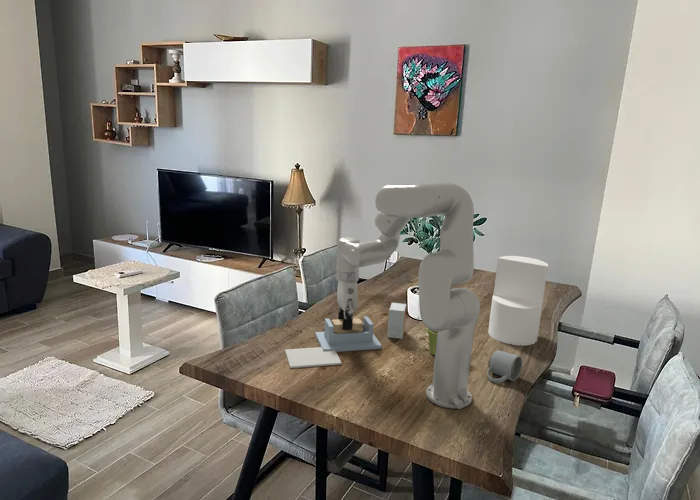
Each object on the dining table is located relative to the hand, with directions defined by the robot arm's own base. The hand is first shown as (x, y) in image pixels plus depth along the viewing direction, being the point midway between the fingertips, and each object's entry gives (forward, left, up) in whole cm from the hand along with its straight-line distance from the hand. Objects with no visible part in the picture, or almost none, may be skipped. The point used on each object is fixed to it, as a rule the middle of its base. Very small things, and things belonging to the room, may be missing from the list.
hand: (345, 325), depth 174 cm
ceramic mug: (-32, -42, -6) cm, 53 cm away
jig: (0, -1, -6) cm, 6 cm away
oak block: (0, -1, -2) cm, 2 cm away
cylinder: (-3, -63, -6) cm, 63 cm away
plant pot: (-13, -29, -6) cm, 33 cm away
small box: (+4, -20, -6) cm, 22 cm away
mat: (-10, +13, -6) cm, 17 cm away
